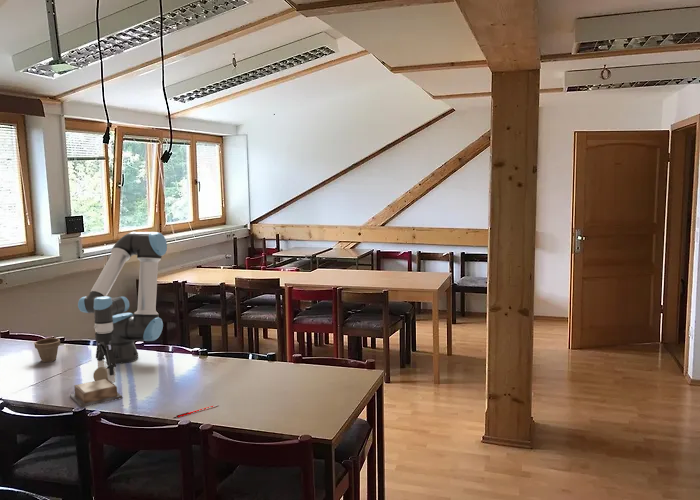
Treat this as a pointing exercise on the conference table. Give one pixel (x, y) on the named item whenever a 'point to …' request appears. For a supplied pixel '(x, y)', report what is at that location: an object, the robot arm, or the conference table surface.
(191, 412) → the pen
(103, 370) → the beige stepped cylinder
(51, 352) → the flower pot
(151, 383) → the conference table surface
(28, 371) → the conference table surface
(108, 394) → the plinth
